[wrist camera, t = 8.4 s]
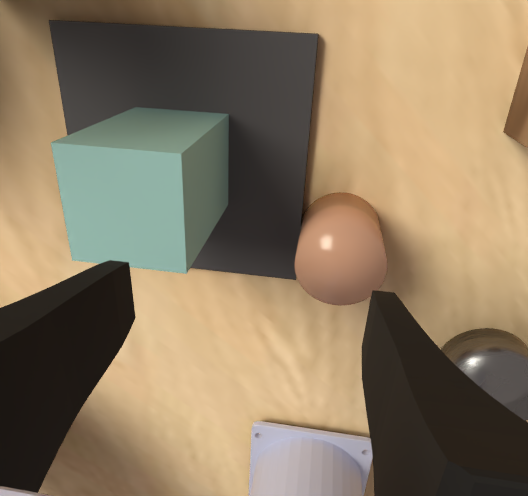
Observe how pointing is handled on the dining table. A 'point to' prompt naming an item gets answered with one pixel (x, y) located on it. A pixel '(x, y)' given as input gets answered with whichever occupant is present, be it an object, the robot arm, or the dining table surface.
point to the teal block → (144, 186)
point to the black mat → (213, 101)
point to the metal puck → (494, 365)
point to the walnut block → (519, 108)
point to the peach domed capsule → (340, 250)
